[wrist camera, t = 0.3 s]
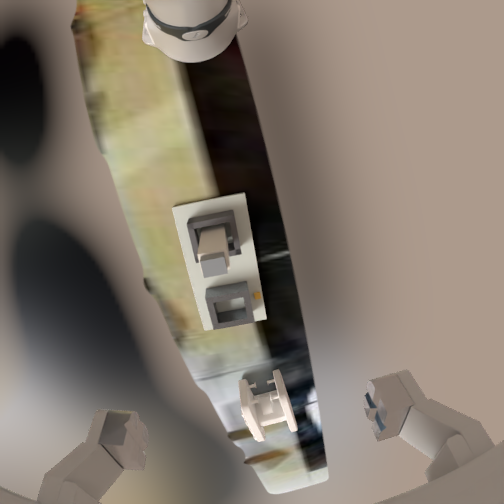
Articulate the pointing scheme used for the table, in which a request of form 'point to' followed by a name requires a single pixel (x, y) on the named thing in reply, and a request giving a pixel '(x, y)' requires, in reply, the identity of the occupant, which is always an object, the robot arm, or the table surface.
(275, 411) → the cable organizer
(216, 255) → the plug
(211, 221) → the panel
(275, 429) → the table surface
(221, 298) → the box
